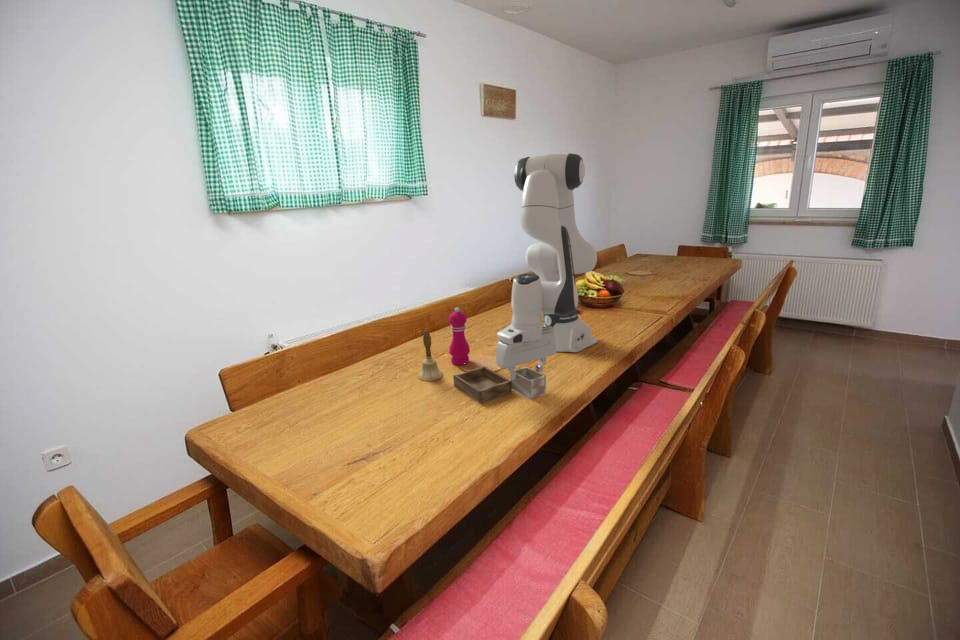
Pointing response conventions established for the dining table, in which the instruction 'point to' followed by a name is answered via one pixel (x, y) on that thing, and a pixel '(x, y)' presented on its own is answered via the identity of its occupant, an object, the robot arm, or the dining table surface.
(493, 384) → the big crate
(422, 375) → the hand bell
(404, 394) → the dining table surface
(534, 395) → the small crate
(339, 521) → the dining table surface
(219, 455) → the dining table surface
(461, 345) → the pepper mill
